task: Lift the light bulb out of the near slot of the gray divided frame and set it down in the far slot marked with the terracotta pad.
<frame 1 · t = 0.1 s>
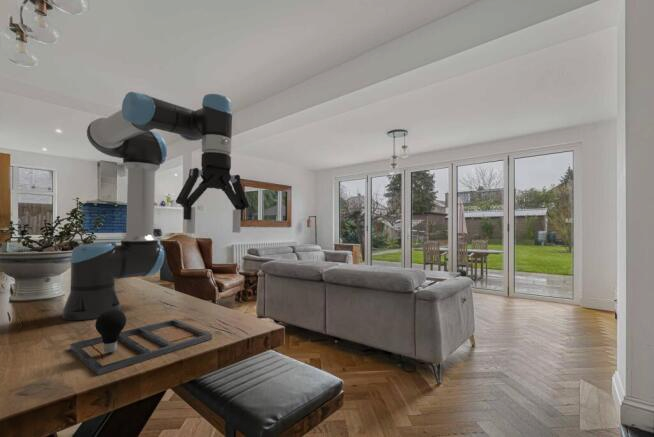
hand: (214, 232, 82), 28 cm above the table, fingers open, 13 cm apart
gray divided frame: (144, 343, 77), on the table
light bulb: (110, 354, 71), resting in gray divided frame
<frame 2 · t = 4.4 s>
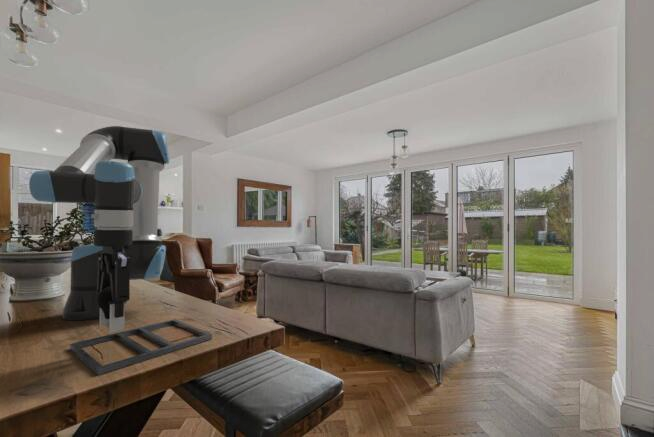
hand: (111, 327, 71), 6 cm above the table, fingers closed on light bulb, 6 cm apart
light bulb: (112, 329, 72), point 5 cm above the table, touching gripper
when the fingers open (2 cm above the table, at t = 8.3 s): light bulb drops 1 cm, resting on gray divided frame.
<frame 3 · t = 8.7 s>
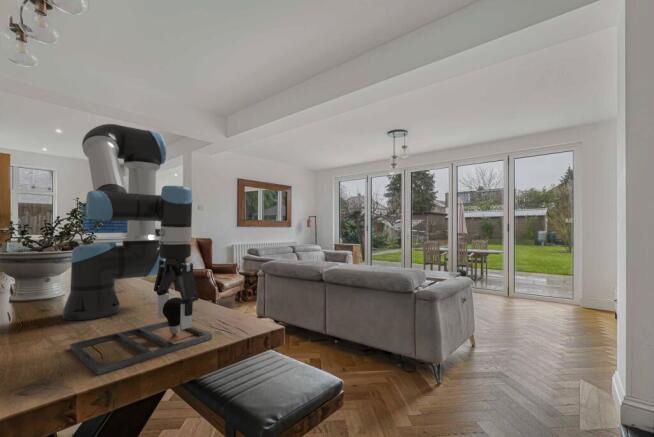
hand: (173, 322, 82), 3 cm above the table, fingers open, 12 cm apart
light bulb: (174, 335, 82), resting on gray divided frame
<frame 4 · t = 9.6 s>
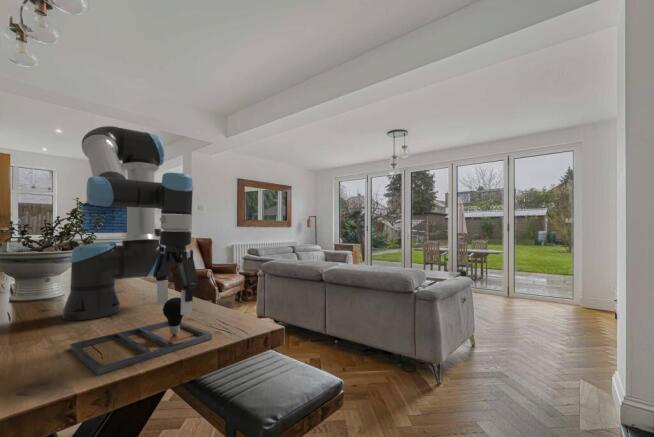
hand: (173, 308, 83), 7 cm above the table, fingers open, 13 cm apart
nothing on the table moved.
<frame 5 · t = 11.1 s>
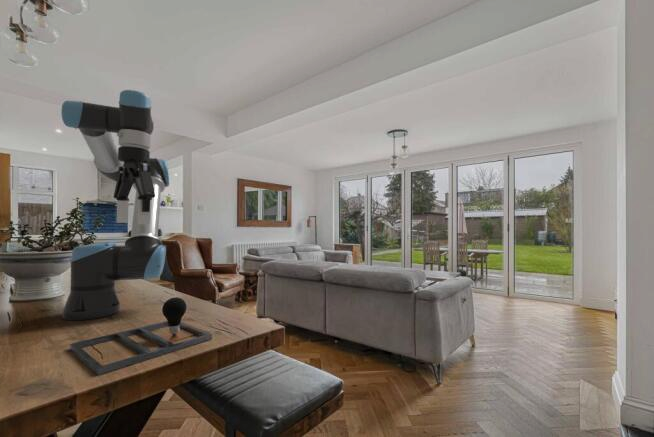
hand: (132, 223, 86), 30 cm above the table, fingers open, 13 cm apart
nothing on the table moved.
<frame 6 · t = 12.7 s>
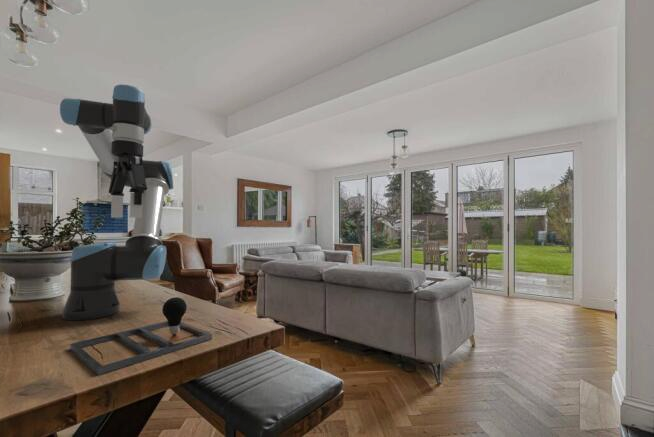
hand: (125, 217, 86), 32 cm above the table, fingers open, 13 cm apart
nothing on the table moved.
at the end: light bulb inside the target area on the gray divided frame (0.2 cm from its centre), point 0.0 cm above the gray divided frame's base; light bulb tilted 0°; the gripper is holding nothing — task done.
